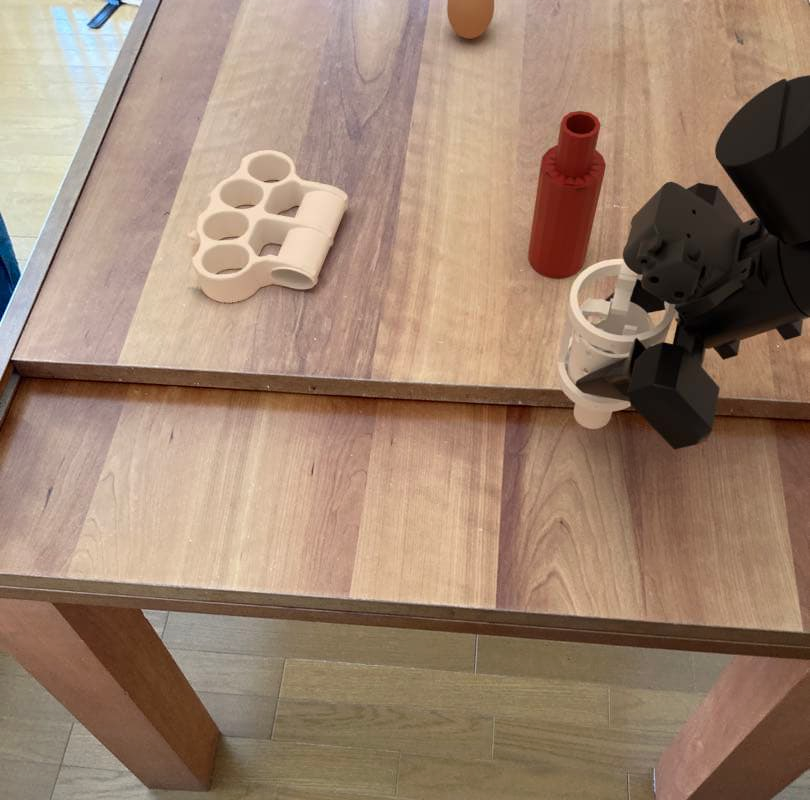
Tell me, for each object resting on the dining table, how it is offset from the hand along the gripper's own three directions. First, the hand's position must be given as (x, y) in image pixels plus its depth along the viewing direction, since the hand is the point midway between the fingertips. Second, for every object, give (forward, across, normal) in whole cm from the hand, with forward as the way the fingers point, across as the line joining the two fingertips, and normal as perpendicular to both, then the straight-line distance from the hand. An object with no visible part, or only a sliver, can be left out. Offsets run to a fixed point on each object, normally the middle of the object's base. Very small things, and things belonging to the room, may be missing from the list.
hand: (589, 349), depth 61 cm
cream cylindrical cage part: (+4, 0, +7) cm, 8 cm away
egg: (+26, -53, -8) cm, 59 cm away
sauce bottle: (+13, -21, +5) cm, 25 cm away
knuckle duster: (+34, -15, -16) cm, 40 cm away
